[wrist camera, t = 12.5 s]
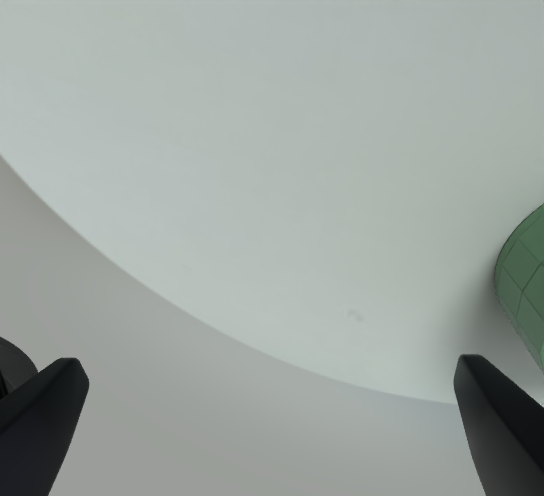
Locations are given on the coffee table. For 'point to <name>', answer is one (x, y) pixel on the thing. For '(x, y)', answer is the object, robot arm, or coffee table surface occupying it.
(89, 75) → the coffee table surface
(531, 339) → the bowl
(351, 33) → the coffee table surface
